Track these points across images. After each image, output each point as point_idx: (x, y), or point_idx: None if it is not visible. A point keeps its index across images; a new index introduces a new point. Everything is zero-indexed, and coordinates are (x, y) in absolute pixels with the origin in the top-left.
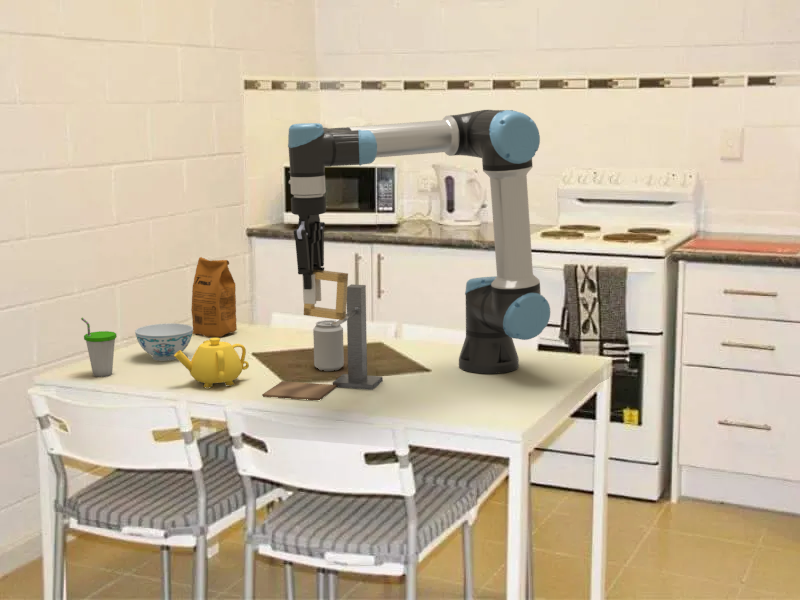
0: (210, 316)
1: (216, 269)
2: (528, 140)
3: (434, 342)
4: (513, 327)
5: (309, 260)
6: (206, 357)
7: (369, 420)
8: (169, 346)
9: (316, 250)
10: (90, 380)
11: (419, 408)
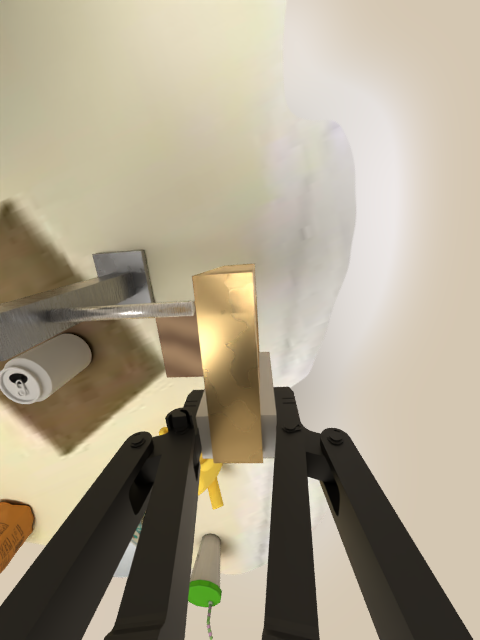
0: (11, 540)
1: None
2: None
3: None
4: None
5: (345, 487)
6: (212, 473)
7: (292, 189)
8: (137, 528)
9: (180, 536)
10: (233, 540)
11: (207, 131)
